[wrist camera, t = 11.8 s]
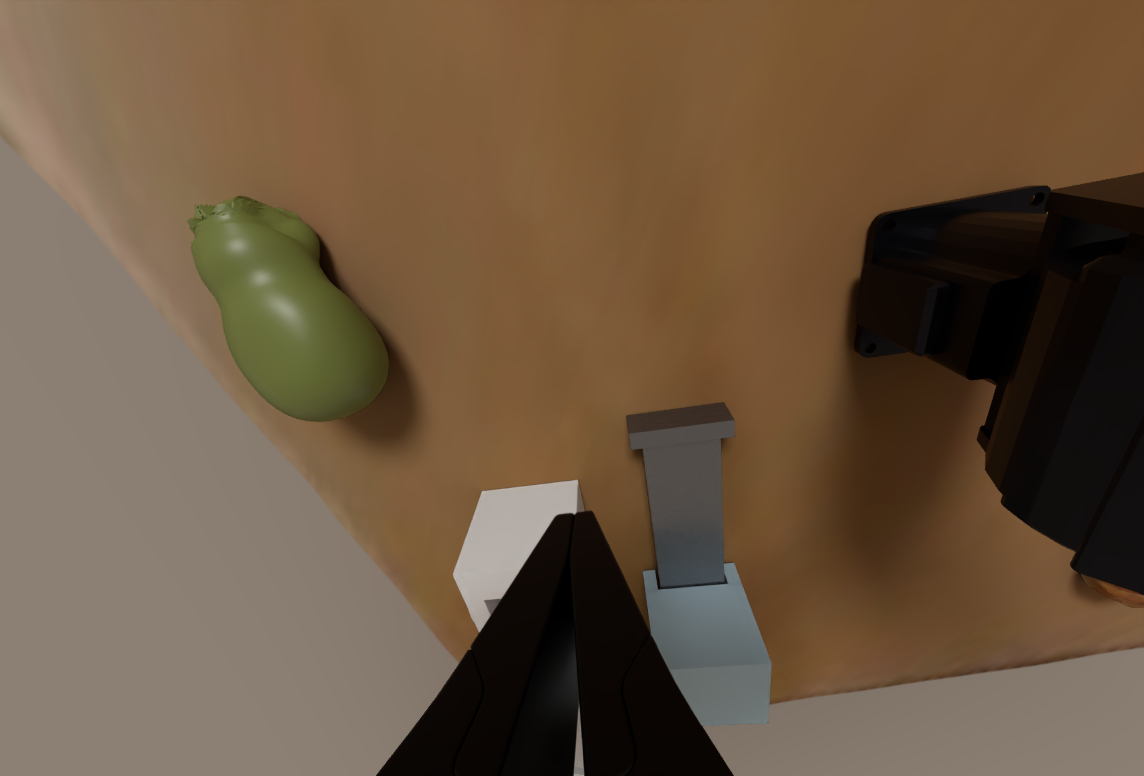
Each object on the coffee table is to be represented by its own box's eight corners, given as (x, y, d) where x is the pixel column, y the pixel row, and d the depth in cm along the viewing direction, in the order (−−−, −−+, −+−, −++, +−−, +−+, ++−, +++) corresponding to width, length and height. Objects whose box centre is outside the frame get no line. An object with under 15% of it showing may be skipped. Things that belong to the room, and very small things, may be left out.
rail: (723, 402, 22) (734, 420, 20) (728, 633, 30) (736, 658, 29) (626, 415, 22) (628, 433, 21) (658, 638, 31) (662, 663, 29)
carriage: (733, 562, 27) (771, 663, 21) (734, 620, 30) (768, 723, 24) (642, 571, 28) (655, 670, 22) (651, 626, 30) (664, 727, 25)
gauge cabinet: (577, 480, 24) (574, 563, 19) (598, 571, 28) (600, 663, 23) (476, 492, 25) (444, 575, 20) (508, 579, 29) (489, 670, 23)
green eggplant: (267, 457, 18) (107, 234, 15) (346, 412, 23) (235, 238, 20) (368, 412, 16) (210, 159, 14) (428, 374, 21) (319, 184, 19)
